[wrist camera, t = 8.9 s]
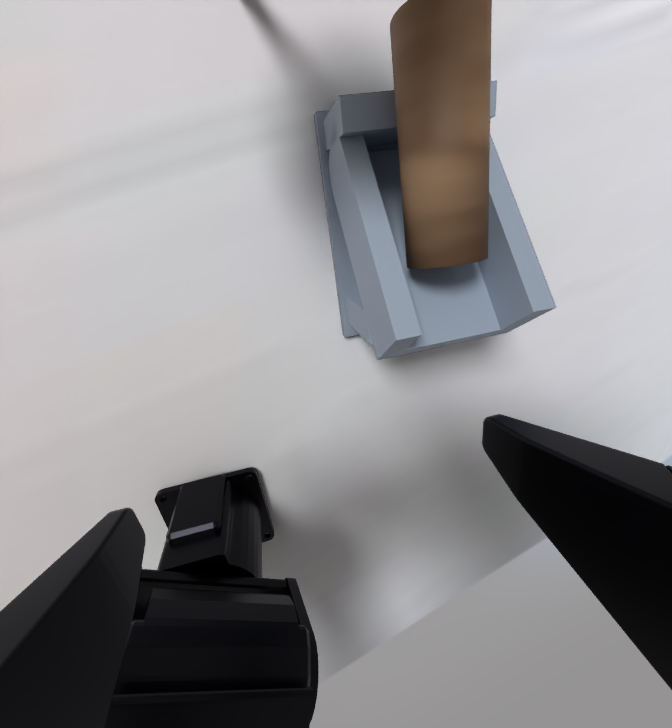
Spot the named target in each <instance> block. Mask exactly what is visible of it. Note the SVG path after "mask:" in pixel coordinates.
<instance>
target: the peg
mask: <svg viewBox="0 0 672 728" xmlns="http://www.w3.org/2000/svg"><path fill="white" fill-rule="evenodd" d="M491 8H492V0H408V1H407V2H405V3H404V4H403V5H402V6H401V7H400V8H399V9H398V10H397V12H396V13H395V14H394V16H393V18H392V20H391V23H390V34H391V48H392V62H393V77H394V91H395V105H396V120H397V134H398V148H399V162H400V177H401V191H402V205H403V220H404V234H405V248H406V263H407V268H410V269H429V268H441V267H450V266H457V265H464V264H469V263H474V262H479V261H482V260H485V259H487V258H488V232H489V158H490V83H491Z"/></svg>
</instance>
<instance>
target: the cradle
mask: <svg viewBox="0 0 672 728" xmlns="http://www.w3.org/2000/svg"><path fill="white" fill-rule="evenodd" d="M496 90H497V81H491V83H490V118H492V117H494V116H495V111H496ZM314 119H315V127H316V135H317V142H318V150H319V157H320V165H321V172H322V180H323V188H324V195H325V203H326V210H327V218H328V225H329V233H330V241H331V248H332V256H333V263H334V271H335V278H336V286H337V294H338V301H339V309H340V316H341V324H342V331H343V336H344V337H349V336H354V335H359V334H360V336H361V337H362V338H363V339H364V340H365V341H366V342H367V343H368V344H369V345H373V347H374V350H375V354H376V358H377V360H381V359H385V358H390V357H395V356H399V355H404V354H409V353H413V352H418V351H423V350H427V349H432V348H437V347H441V346H446V345H451V344H455V343H460V342H465V341H470V340H474V339H479V338H484V337H488V336H493V335H498V334H502V333H507V332H509V331H511V330H513V329H515V328H517V327H519V326H521V325H523V324H525V323H527V322H529V321H531V320H532V319H534V318H536V317H538V316H540V315H542V314H544V313H546V312H548V311H550V310H552V309H554V308H556V305H555V302H554V300H553V297H552V295H551V292H550V289H549V287H548V284H547V281H546V279H545V276H544V274H543V271H542V268H541V266H540V263H539V261H538V258H537V255H536V253H535V250H534V247H533V245H532V242H531V240H530V237H529V234H528V232H527V229H526V227H525V224H524V221H523V219H522V216H521V213H520V211H519V208H518V206H517V203H516V200H515V198H514V195H513V193H512V190H511V187H510V185H509V182H508V179H507V177H506V174H505V172H504V169H503V166H502V164H501V161H500V158H499V156H498V153H497V151H496V148H495V145H494V143H493V140H492V138H491V135H490V158H489V232H488V258H487V259H485V260H482V261H479V262H474V263H469V264H464V265H457V266H450V267H441V268H429V269H410V268H407V263H406V248H405V234H404V220H403V205H402V191H401V177H400V162H399V148H398V134H397V120H396V105H395V91H394V90H392V91H381V92H370V93H360V94H349V95H339V97H338V99H337V100H336V102H335V103H334V105H333V106H332V108H331V110H328V111H319V112H315V114H314Z"/></svg>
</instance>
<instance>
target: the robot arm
mask: <svg viewBox="0 0 672 728" xmlns="http://www.w3.org/2000/svg"><path fill="white" fill-rule="evenodd" d="M482 444H483V448H484V450H485V452H486V454H487V455H488V457H489V458H490V460H491V461H492V463H493V464H494V466H495V467H496V469H497V470H498V472H499V473H500V475H501V476H502V478H503V479H504V481H505V482H506V484H507V485H508V487H509V488H510V490H511V491H512V493H513V494H514V496H515V497H516V498H517V500H518V501H519V502H520V504H521V505H522V506H523V508H524V509H525V510H526V511H527V513H528V514H529V515H530V516H531V517H532V519H533V520H534V521H535V522H536V524H537V525H538V526H539V527H540V529H541V530H542V531H543V532H544V533H545V535H546V536H547V537H548V538H549V540H550V541H551V542H552V543H553V545H554V546H555V547H556V548H557V549H558V551H559V552H560V553H561V554H562V556H563V557H564V558H565V559H566V561H567V562H568V563H569V564H570V565H571V567H572V568H573V569H574V570H575V572H576V573H577V574H578V575H579V576H580V578H581V579H582V580H583V581H584V583H585V584H586V585H587V586H588V588H589V589H590V590H591V591H592V593H593V594H594V595H595V596H596V597H597V599H598V600H599V601H600V602H601V603H602V605H603V606H604V607H605V609H606V610H607V611H608V612H609V613H610V615H611V616H612V617H613V618H614V619H615V621H616V622H617V623H618V624H619V626H620V627H621V628H622V629H623V631H624V632H625V633H626V634H627V636H628V637H629V638H630V639H631V641H632V642H633V643H634V644H635V645H636V647H637V648H638V649H639V650H640V652H641V653H642V654H643V655H644V657H645V658H646V659H647V660H648V661H649V663H650V664H651V665H652V666H653V668H654V669H655V670H656V671H657V673H658V674H659V675H660V676H661V677H662V679H663V680H664V681H665V682H666V684H667V685H668V686H669V687H670V688H671V690H672V466H665V465H664V464H662V463H658V462H655V461H652V460H649V459H645V458H642V457H639V456H635V455H632V454H629V453H626V452H622V451H619V450H616V449H612V448H609V447H606V446H603V445H599V444H596V443H593V442H589V441H586V440H583V439H580V438H576V437H573V436H570V435H567V434H563V433H560V432H557V431H553V430H550V429H547V428H544V427H540V426H537V425H534V424H530V423H527V422H524V421H521V420H517V419H514V418H511V417H508V416H504V415H501V414H498V415H493V416H489V417H486V418H485V419H484V422H483V438H482ZM247 475H252V476H251V477H248V476H247ZM162 496H165V497H167V498H162ZM155 502H156V504H157V506H158V508H159V511H160V513H161V515H162V517H163V519H164V521H165V523H166V525H167V528H168V532H167V535H166V542H165V545H164V549H163V552H162V556H161V559H160V563H159V566H158V569H157V570H148V569H142V560H143V554H144V547H145V533H144V530H143V528H142V526H141V524H140V523H139V521H138V519H137V517H136V515H135V513H134V511H133V510H132V509H131V508H124V509H120V510H116V511H112V512H110V513H108V514H107V515H106V516H105V517H104V518H103V519H102V520H101V521H100V522H98V523H97V524H96V525H95V526H94V527H93V528H92V529H91V530H90V531H88V532H87V533H86V534H85V535H84V536H83V537H82V538H81V539H80V540H79V541H77V542H76V543H75V544H74V545H73V546H72V547H71V548H70V549H69V550H68V551H66V552H65V553H64V554H63V555H62V556H61V557H60V558H59V559H58V560H57V561H55V562H54V563H53V564H52V565H51V566H50V567H49V568H48V569H47V570H46V571H44V572H43V573H42V574H41V575H40V576H39V577H38V578H37V579H36V580H34V581H33V582H32V583H31V584H30V585H29V586H28V587H27V588H26V589H25V590H23V591H22V592H21V593H20V594H19V595H18V596H17V597H16V598H15V599H14V600H12V601H11V602H10V603H9V604H8V605H7V606H6V607H5V608H4V609H3V610H1V611H0V728H309V724H310V722H311V720H312V716H313V712H314V709H315V703H316V698H317V689H318V653H317V646H316V640H315V636H314V633H313V630H312V627H311V624H310V621H309V618H308V615H307V612H306V609H305V606H304V603H303V600H302V597H301V594H300V591H299V588H298V585H297V582H296V579H294V578H286V579H285V580H282V579H269V578H262V542H265V541H269V540H271V539H272V538H273V537H274V528H273V525H272V521H271V518H270V514H269V511H268V508H267V504H266V501H265V497H264V494H263V491H262V487H261V484H260V480H259V477H258V473H257V471H256V470H255V469H254V468H246V469H242V470H238V471H234V472H230V473H226V474H222V475H217V476H213V477H209V478H205V479H201V480H197V481H193V482H189V483H185V484H181V485H177V486H173V487H169V488H165V489H162V490H159V491H158V492H157V495H156V497H155ZM266 533H268V534H266Z"/></svg>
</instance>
